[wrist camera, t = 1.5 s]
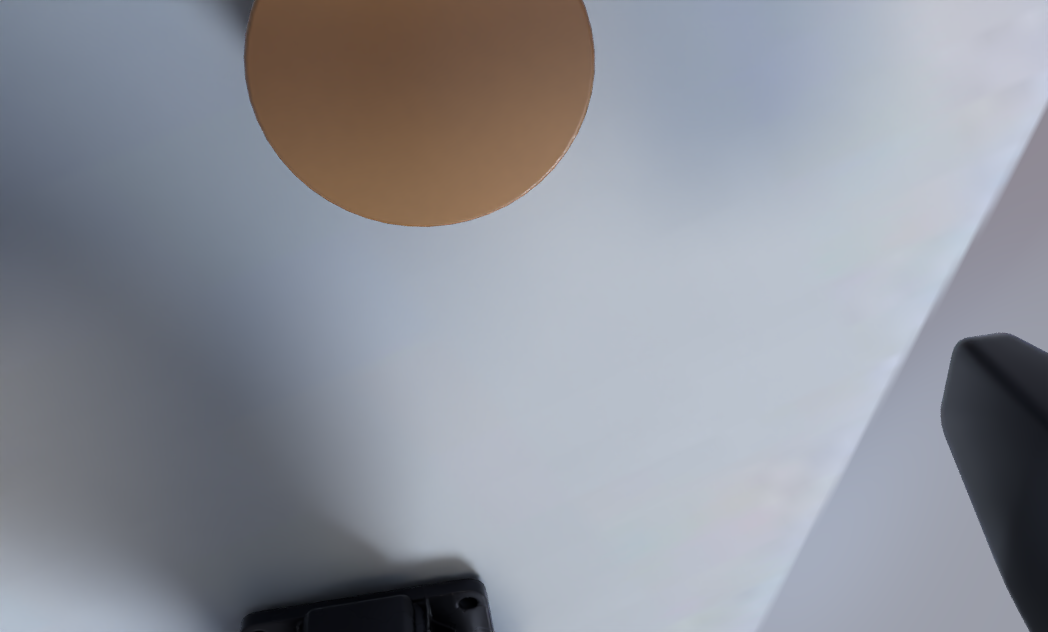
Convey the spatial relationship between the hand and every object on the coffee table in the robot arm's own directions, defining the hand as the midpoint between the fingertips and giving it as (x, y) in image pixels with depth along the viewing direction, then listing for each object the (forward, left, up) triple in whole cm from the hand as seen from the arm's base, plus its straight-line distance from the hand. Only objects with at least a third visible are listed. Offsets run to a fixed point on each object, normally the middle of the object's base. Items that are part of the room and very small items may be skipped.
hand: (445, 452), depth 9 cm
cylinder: (0, 0, -11) cm, 11 cm away
